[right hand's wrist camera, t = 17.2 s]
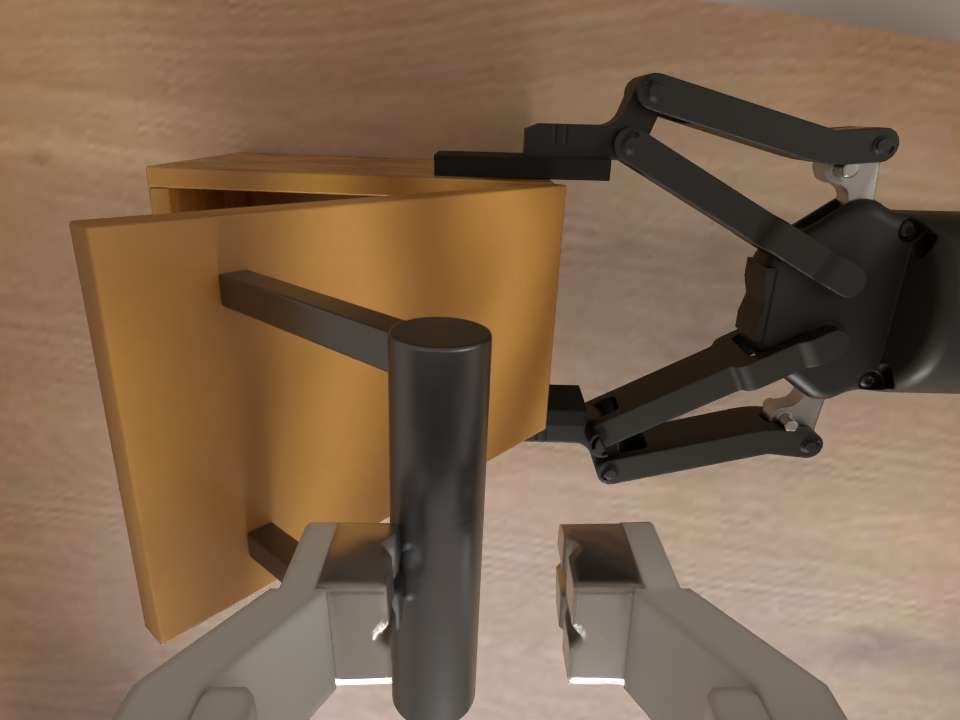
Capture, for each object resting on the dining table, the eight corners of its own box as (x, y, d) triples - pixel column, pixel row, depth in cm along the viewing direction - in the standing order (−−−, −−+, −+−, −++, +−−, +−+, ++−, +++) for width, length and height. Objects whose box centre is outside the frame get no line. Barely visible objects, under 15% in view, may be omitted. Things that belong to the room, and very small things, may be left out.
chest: (255, 334, 35) (179, 408, 26) (238, 152, 31) (144, 165, 22) (521, 343, 35) (536, 420, 26) (532, 164, 32) (555, 182, 23)
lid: (145, 627, 15) (354, 868, 10) (67, 221, 12) (327, 310, 7) (528, 422, 26) (713, 494, 21) (546, 182, 22) (770, 207, 18)
